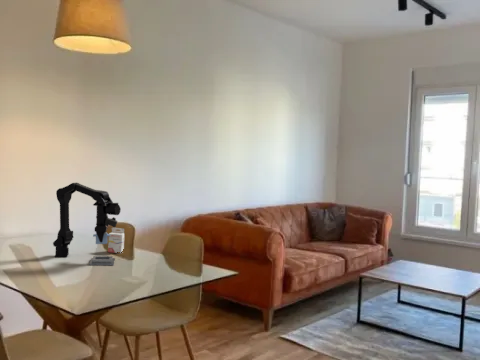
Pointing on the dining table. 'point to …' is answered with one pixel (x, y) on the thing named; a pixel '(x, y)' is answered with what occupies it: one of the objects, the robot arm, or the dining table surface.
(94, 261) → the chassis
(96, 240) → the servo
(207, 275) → the dining table surface
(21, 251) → the dining table surface
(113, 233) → the ink cartridge box
